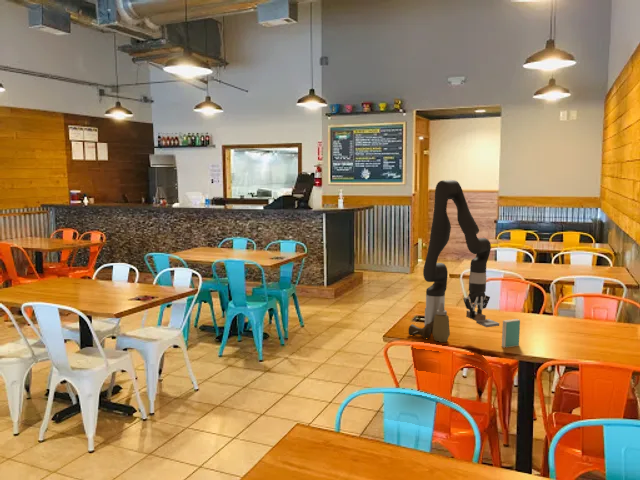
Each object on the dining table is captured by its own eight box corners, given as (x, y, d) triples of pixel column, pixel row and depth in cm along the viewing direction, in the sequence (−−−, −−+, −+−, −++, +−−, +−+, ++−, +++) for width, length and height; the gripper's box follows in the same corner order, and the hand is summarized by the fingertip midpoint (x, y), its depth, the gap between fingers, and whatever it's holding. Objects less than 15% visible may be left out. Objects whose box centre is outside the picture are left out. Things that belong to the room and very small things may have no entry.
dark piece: (462, 317, 253) (463, 310, 253) (475, 315, 256) (475, 309, 255) (486, 327, 238) (486, 320, 237) (499, 325, 240) (499, 319, 240)
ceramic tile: (501, 346, 244) (502, 320, 243) (515, 344, 247) (517, 318, 246) (505, 347, 242) (506, 321, 241) (519, 345, 245) (520, 320, 243)
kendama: (442, 334, 265) (420, 342, 250) (425, 330, 271) (403, 338, 257) (442, 322, 264) (421, 329, 250) (425, 319, 271) (403, 326, 256)
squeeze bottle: (428, 339, 255) (429, 301, 252) (443, 337, 257) (444, 300, 255) (438, 344, 247) (439, 305, 245) (453, 342, 250) (454, 304, 248)
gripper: (484, 278, 253) (482, 314, 256) (459, 280, 248) (458, 317, 251) (495, 282, 247) (493, 318, 249) (470, 284, 241) (468, 321, 244)
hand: (475, 317), depth 250 cm, fingers closed on dark piece, 3 cm apart
